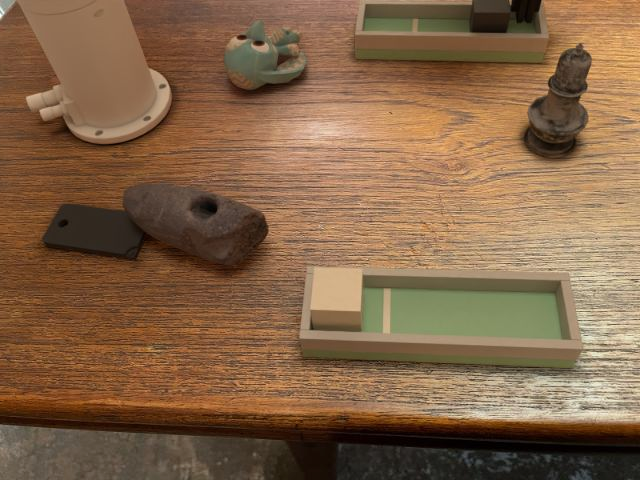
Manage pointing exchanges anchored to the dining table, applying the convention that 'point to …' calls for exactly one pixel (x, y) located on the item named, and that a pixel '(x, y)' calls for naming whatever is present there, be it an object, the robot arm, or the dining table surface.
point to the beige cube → (337, 299)
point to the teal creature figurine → (263, 57)
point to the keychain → (95, 231)
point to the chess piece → (560, 107)
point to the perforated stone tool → (196, 221)
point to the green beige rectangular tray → (443, 33)
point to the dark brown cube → (489, 16)
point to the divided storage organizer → (455, 318)
